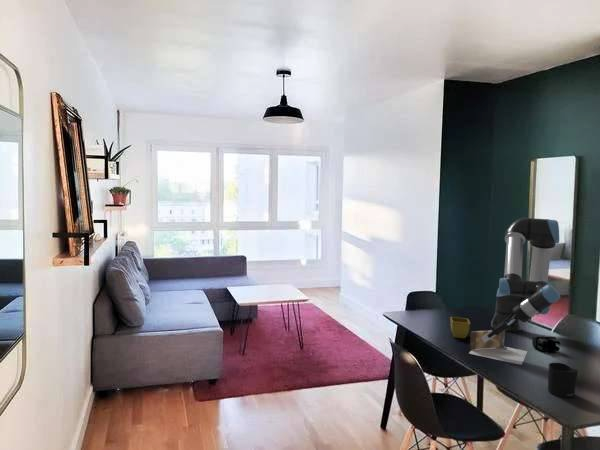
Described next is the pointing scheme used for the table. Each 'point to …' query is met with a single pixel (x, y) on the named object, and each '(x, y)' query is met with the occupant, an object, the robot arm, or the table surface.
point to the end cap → (546, 344)
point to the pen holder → (562, 380)
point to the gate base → (502, 354)
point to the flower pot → (459, 327)
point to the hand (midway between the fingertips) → (483, 339)
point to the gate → (492, 343)
